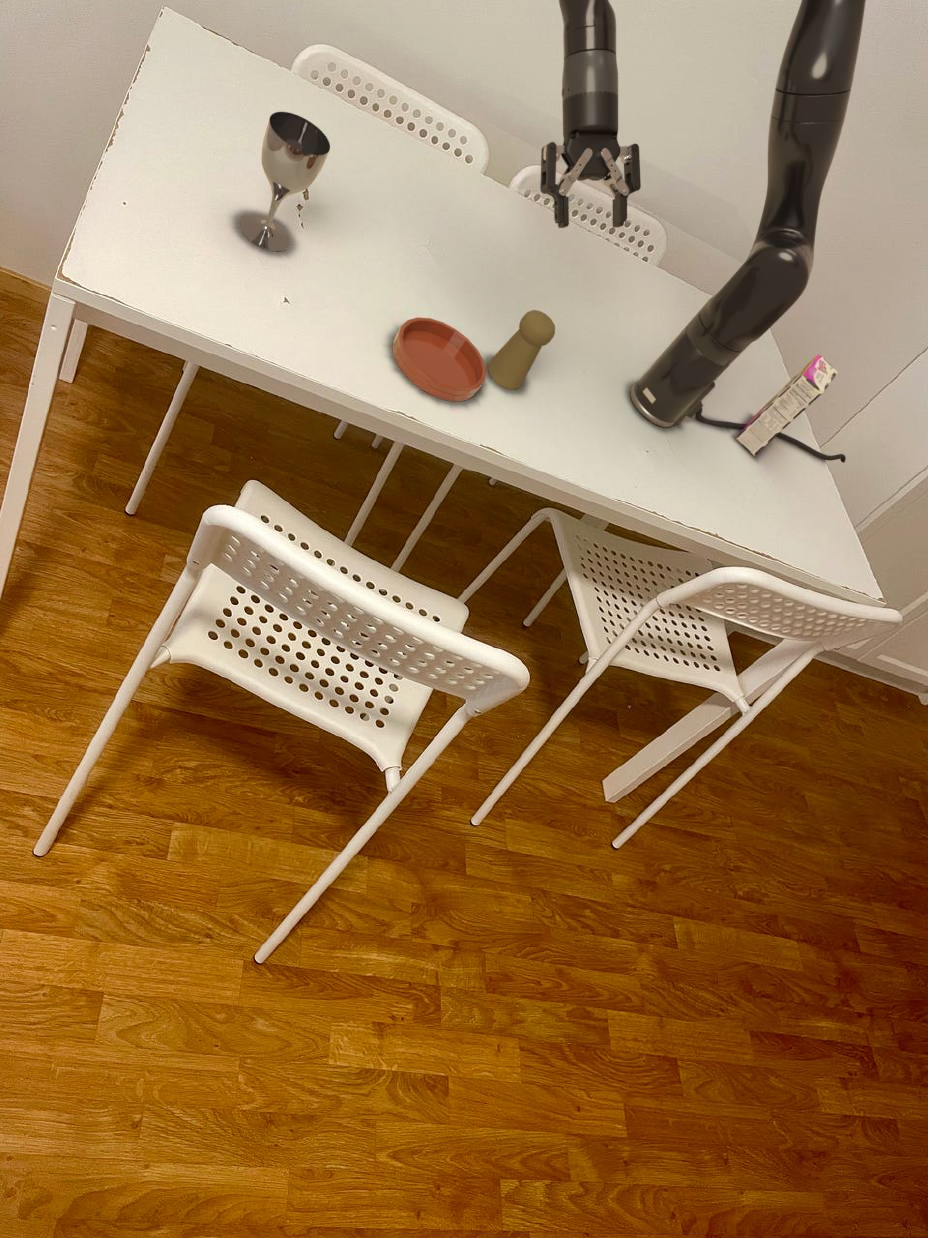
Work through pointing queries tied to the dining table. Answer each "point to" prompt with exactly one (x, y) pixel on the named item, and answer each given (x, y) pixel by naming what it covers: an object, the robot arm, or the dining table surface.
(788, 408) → the candy bar box
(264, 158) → the silver goblet
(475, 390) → the dish
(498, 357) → the brown game pawn
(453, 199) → the dining table surface
